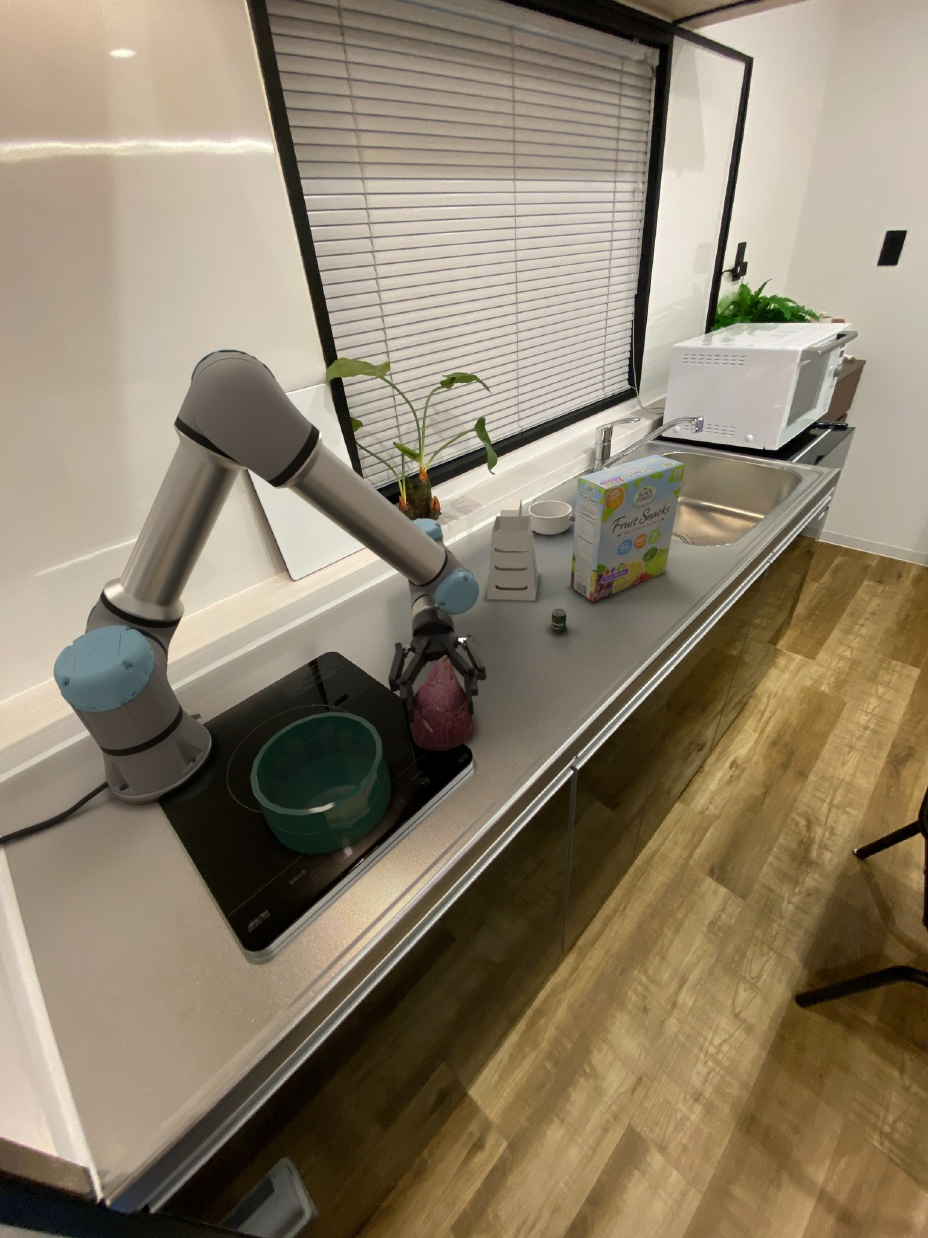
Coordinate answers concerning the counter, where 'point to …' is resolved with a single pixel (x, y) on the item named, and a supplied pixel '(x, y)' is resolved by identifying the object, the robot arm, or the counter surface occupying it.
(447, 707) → the vegetable
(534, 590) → the grater
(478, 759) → the counter surface
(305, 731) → the pot
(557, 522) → the saucepan
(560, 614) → the beer can
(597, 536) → the snack box
